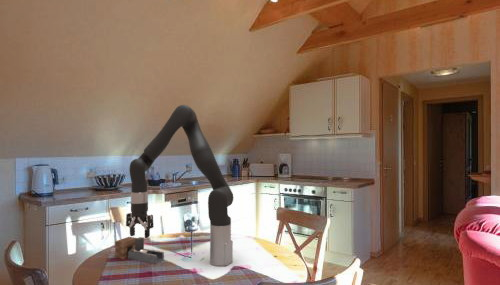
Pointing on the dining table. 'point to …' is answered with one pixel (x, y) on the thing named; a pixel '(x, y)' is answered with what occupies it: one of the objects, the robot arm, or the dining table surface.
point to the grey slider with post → (138, 246)
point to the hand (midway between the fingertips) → (139, 236)
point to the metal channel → (146, 256)
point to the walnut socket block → (123, 247)
